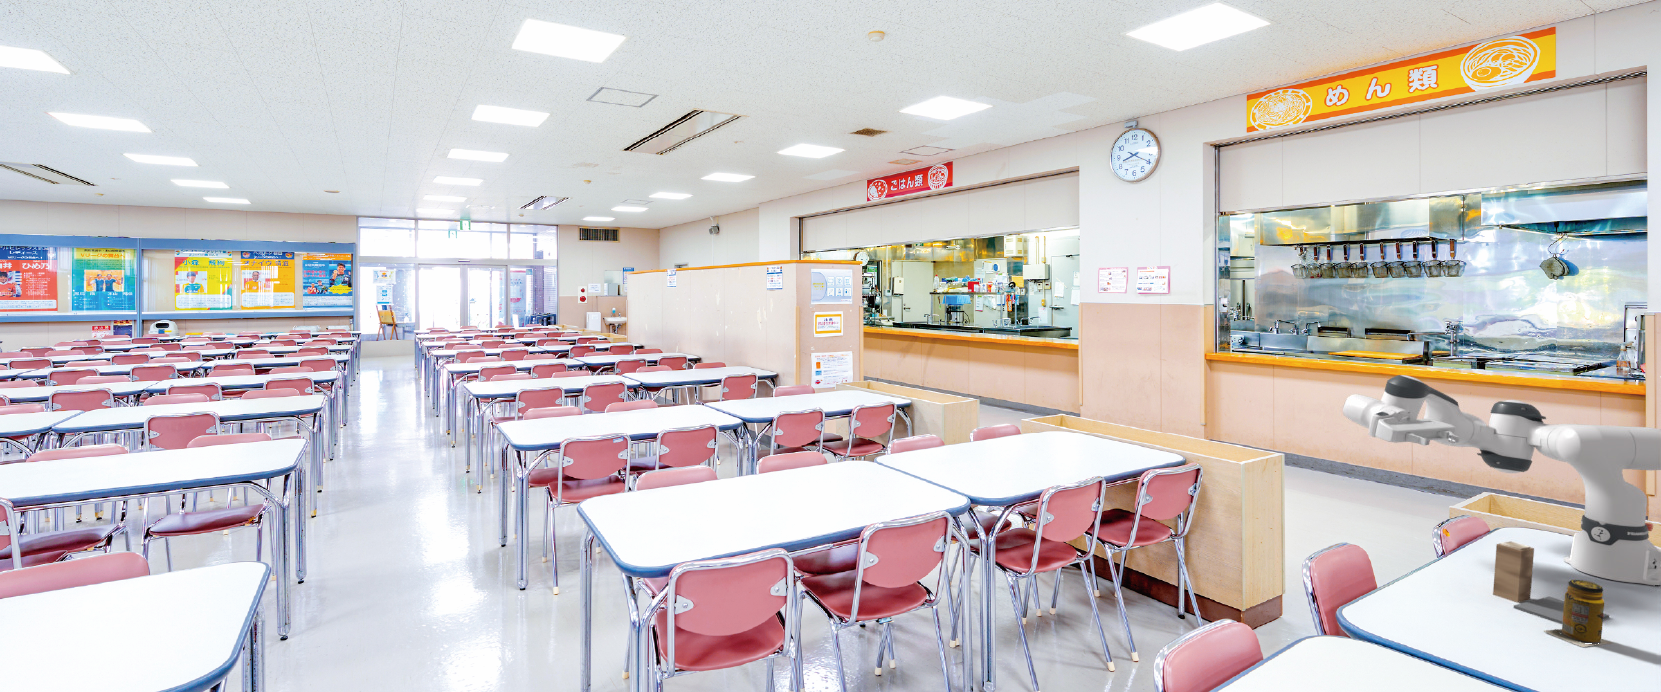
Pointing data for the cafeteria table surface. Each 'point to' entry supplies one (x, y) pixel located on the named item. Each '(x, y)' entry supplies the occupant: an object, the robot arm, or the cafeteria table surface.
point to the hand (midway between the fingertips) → (1442, 441)
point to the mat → (1546, 608)
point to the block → (1513, 571)
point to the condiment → (1582, 614)
